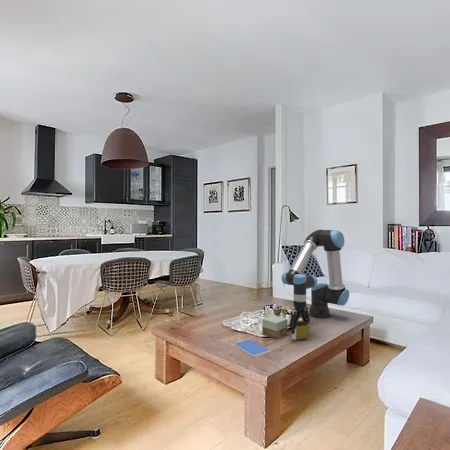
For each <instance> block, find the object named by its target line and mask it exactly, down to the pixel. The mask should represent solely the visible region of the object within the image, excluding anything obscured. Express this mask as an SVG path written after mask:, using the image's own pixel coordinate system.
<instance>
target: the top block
mask: <svg viewBox="0 0 450 450" xmlns="http://www.w3.org/2000/svg"><path fill="white" fill-rule="evenodd" d="M261 320H262V321H261V322H262V323H261V324H262V325H261V326H262V327H265V328H268V329H271V330H274V331H279V330H281V329H283V328H286V327H287V328H288V318H286V317H283V316H282V317H281V316H278V315H275V314H273V315H269V316H267V317H263V318H262V319H261ZM262 327H261V328H262Z"/></svg>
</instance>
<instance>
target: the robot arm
mask: <svg viewBox="0 0 450 450" xmlns="http://www.w3.org/2000/svg"><path fill="white" fill-rule="evenodd" d="M344 246H345V236H344V234H343V233H342V231H340V230H336V229H317V230H314V231H313V232H311V233H310V234H309V235H308V236H307V237H306V238H305V239H304V241H303V246H302V247H301V249H300V251H299V252H298V255H297V257H296V258H295V259H294V262H293V263H292V265H291V267H290V268H289V270H288V272H287V271H286V272H283V273H282V275H281V282H282V283H283V284H285V285H288V286H293V300H292V301H293V304H292V305H293V307H294V310H291V314H290V315H291V316H290V319H289V325H288V328H291V339H292V340H295V341H296V340H297V338H296V325H297V322H298V321H299V319H300V318H301V319H302V321H305V322H306V323H307V324H309V325H310V322H311V319H310V316H311V317H312V318H318V319H319V318H320V319H326V318H330V317H331V311H330V308H329V304H332V305H337V306H345V305H346V304H347V303H348V301H349V297H350V290H349V289H347V288H346V285H345V284H344V283H343V275H342V273H343V272H342V263H341V252H340V251H341V250H342V248H343V247H344ZM318 247H323V250H324V252H325V253H326V259H327V269H328V270H327V271H328V278H329V284H328V283H325V282H323V283H322V282H320V283H319V282H318V278H317V277H316V275H313V274H308V275H305V274H302V272H303V270H304V269H305V267H306V265H307V263H308V262H309V259H310V258H311V256H312V254H313V253H314V251H316V250H317V249H318ZM307 289H310V291H311V294H310V295H311V297H310V299H311V300H310V301H311V303H310V304H311V305H310V307H308V306H307Z"/></svg>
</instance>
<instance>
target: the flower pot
mask: <svg viewBox="0 0 450 450" xmlns="http://www.w3.org/2000/svg"><path fill="white" fill-rule="evenodd" d="M309 333H310V323H309V324H307V323H306V322H305V321H303V320H298V322H297V325H296V340H298V341H299V340H305V339H307V337H308V336H309Z"/></svg>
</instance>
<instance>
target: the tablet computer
mask: <svg viewBox="0 0 450 450" xmlns="http://www.w3.org/2000/svg"><path fill="white" fill-rule="evenodd" d="M233 346H234V347H236V348H238V349H239V350H240V351H243V352H244V353H246V354H248V355H249V356H251V357H252V358H255V357H258V356H261V355H265V354H268V353H271V349H268V348H266V347H265V346H263V345H261V344H260V343H258V342H255V341H254V340H252V339H248V340H244V341H243V340H242V341H239V342H235V343H233Z"/></svg>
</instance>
